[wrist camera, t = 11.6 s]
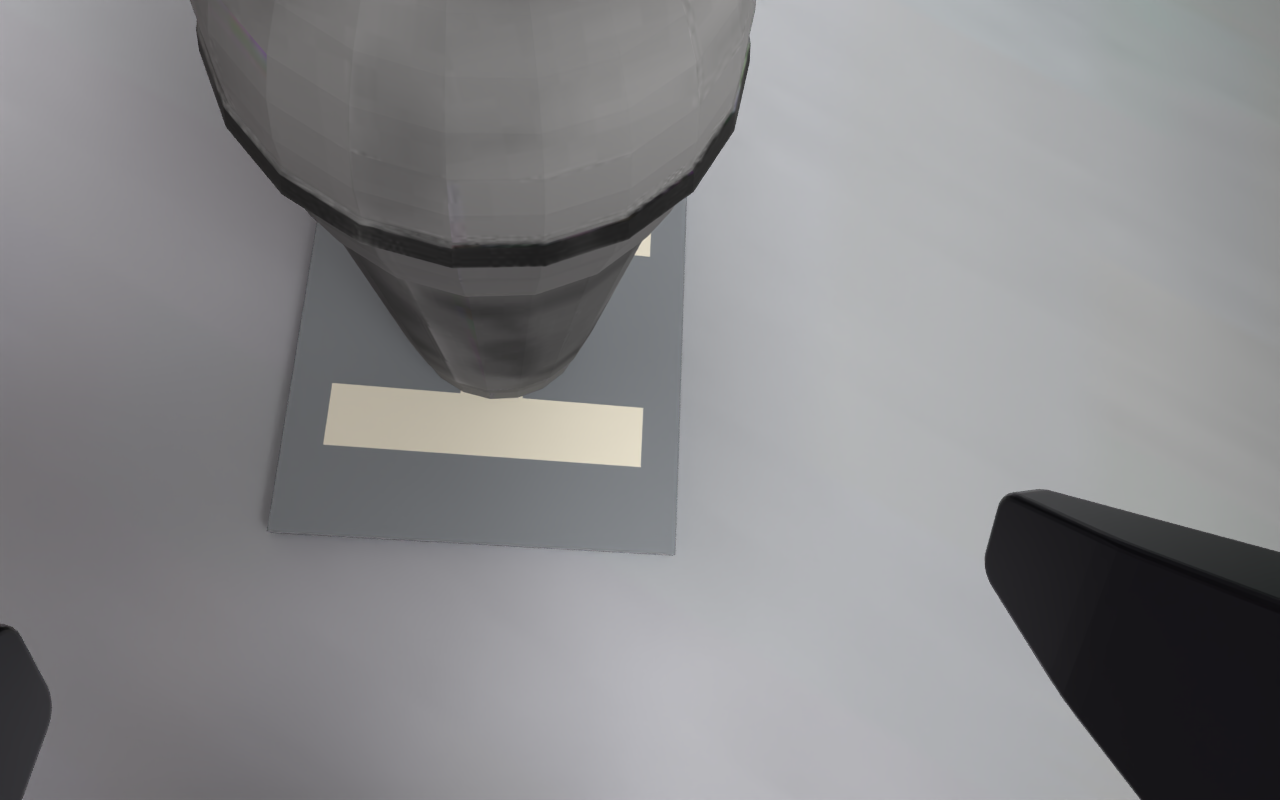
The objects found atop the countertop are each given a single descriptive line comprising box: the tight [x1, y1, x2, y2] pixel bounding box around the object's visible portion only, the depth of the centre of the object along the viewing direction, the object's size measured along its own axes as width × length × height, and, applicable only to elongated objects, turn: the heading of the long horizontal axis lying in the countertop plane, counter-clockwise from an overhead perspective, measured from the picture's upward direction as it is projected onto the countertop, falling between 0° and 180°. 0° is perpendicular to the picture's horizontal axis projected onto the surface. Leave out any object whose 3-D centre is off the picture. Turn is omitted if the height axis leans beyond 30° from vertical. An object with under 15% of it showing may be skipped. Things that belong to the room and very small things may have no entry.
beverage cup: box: [190, 0, 756, 399], centre depth 13 cm, size 7×7×20 cm
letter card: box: [267, 197, 687, 556], centre depth 22 cm, size 12×10×1 cm
